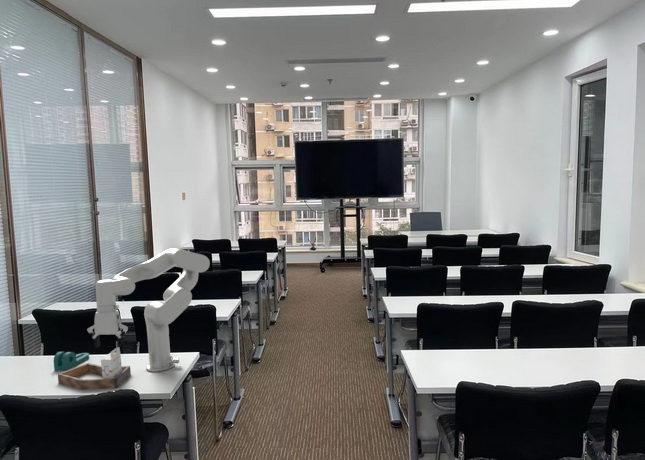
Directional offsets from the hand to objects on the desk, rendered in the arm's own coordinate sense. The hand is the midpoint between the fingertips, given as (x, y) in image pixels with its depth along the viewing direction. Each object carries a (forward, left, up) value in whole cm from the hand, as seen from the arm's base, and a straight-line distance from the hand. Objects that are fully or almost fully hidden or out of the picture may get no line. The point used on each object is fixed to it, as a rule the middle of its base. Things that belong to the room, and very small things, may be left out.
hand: (108, 346), depth 200 cm
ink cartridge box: (0, 0, -16) cm, 16 cm away
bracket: (+30, -25, -17) cm, 42 cm away
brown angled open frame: (+9, -4, -16) cm, 19 cm away
